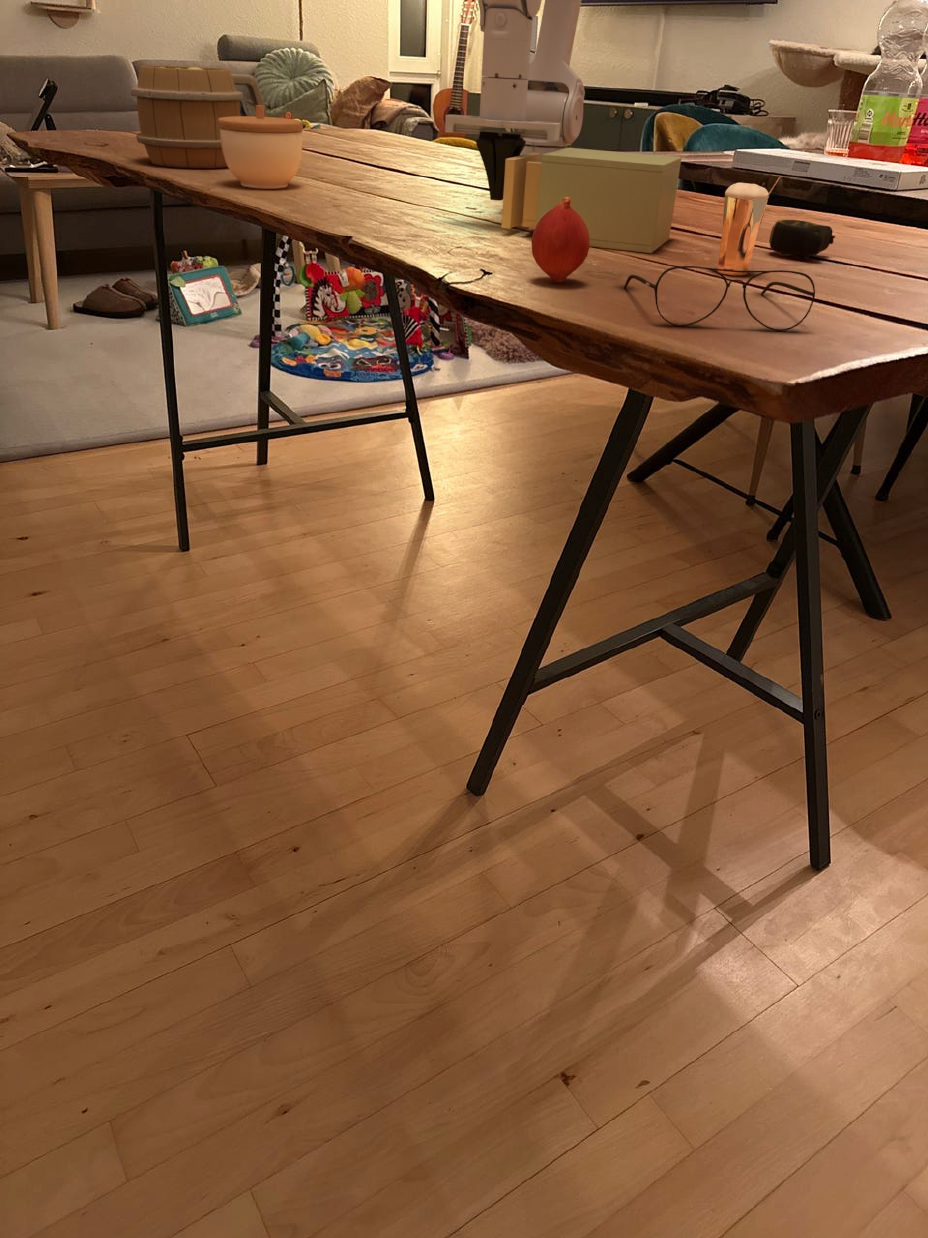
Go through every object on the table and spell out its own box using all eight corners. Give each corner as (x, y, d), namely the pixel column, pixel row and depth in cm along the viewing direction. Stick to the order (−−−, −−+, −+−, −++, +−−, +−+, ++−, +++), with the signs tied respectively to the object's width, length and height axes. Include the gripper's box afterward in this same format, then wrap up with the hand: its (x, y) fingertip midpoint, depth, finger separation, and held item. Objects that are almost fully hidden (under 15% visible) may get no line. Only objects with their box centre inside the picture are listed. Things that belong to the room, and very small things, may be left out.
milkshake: (753, 280, 101) (773, 178, 95) (705, 272, 103) (723, 172, 98) (765, 273, 104) (785, 175, 99) (719, 266, 106) (736, 169, 101)
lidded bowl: (321, 186, 148) (319, 107, 142) (266, 193, 138) (261, 109, 133) (262, 178, 153) (257, 101, 147) (205, 184, 144) (198, 102, 138)
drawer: (492, 226, 117) (496, 157, 113) (518, 216, 126) (522, 151, 122) (605, 239, 113) (614, 168, 109) (624, 227, 121) (633, 161, 117)
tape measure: (815, 264, 111) (823, 230, 109) (759, 255, 114) (765, 222, 112) (830, 256, 116) (838, 223, 114) (776, 248, 119) (782, 216, 117)
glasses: (649, 325, 81) (656, 264, 79) (621, 305, 95) (627, 253, 93) (810, 332, 82) (822, 272, 80) (760, 312, 95) (769, 260, 93)
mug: (296, 166, 169) (292, 70, 161) (170, 171, 155) (159, 66, 147) (242, 155, 181) (236, 65, 173) (120, 159, 166) (107, 61, 158)
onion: (519, 282, 94) (525, 196, 90) (542, 273, 98) (549, 190, 94) (572, 290, 92) (581, 202, 88) (593, 281, 96) (603, 196, 92)
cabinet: (535, 239, 116) (542, 153, 111) (560, 227, 125) (568, 147, 120) (651, 253, 111) (664, 164, 106) (669, 239, 121) (681, 157, 116)
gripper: (437, 74, 112) (433, 196, 119) (552, 81, 108) (541, 208, 115) (458, 74, 118) (454, 191, 125) (569, 81, 114) (558, 202, 121)
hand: (497, 199), depth 120 cm, fingers closed
